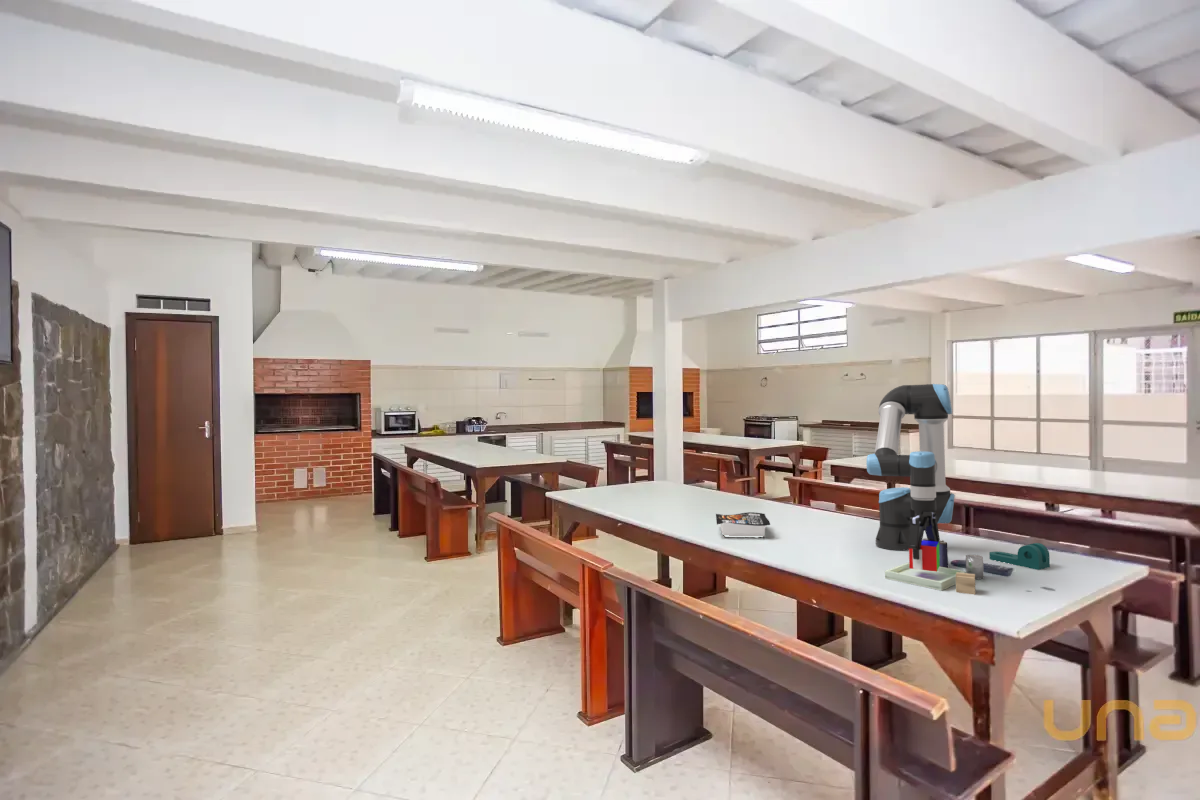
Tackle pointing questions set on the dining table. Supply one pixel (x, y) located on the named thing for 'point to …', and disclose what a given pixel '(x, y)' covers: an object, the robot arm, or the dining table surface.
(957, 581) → the oak block
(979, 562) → the grey canister
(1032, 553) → the bracket
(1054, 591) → the dining table surface
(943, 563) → the flask
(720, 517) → the food packaging
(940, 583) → the tray
